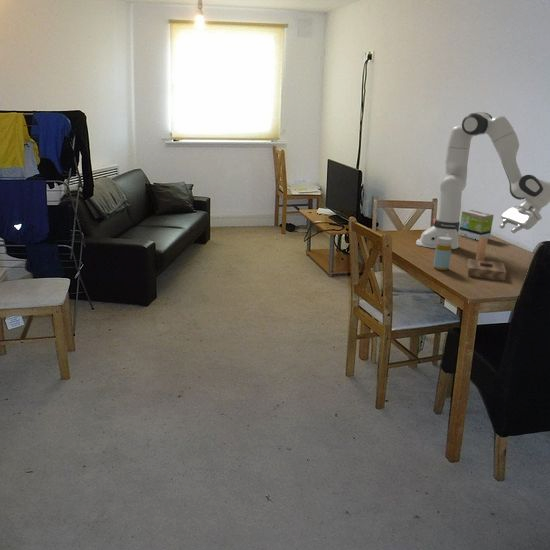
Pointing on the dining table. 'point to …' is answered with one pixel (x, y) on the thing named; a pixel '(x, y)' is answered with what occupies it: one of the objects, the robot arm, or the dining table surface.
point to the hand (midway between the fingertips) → (506, 229)
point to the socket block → (486, 269)
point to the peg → (481, 248)
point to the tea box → (475, 224)
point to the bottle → (442, 253)
